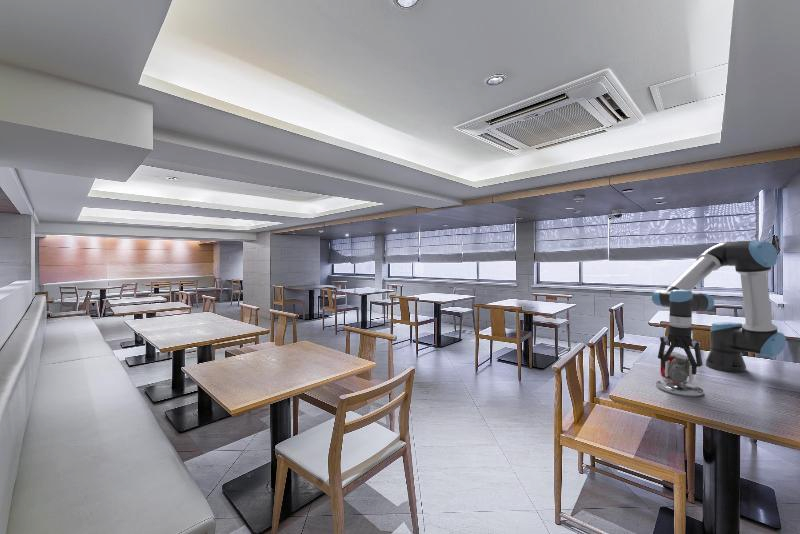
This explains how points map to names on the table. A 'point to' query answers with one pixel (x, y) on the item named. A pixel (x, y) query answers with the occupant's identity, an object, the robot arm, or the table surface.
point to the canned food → (668, 360)
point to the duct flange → (679, 388)
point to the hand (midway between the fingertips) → (678, 378)
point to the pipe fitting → (679, 368)
